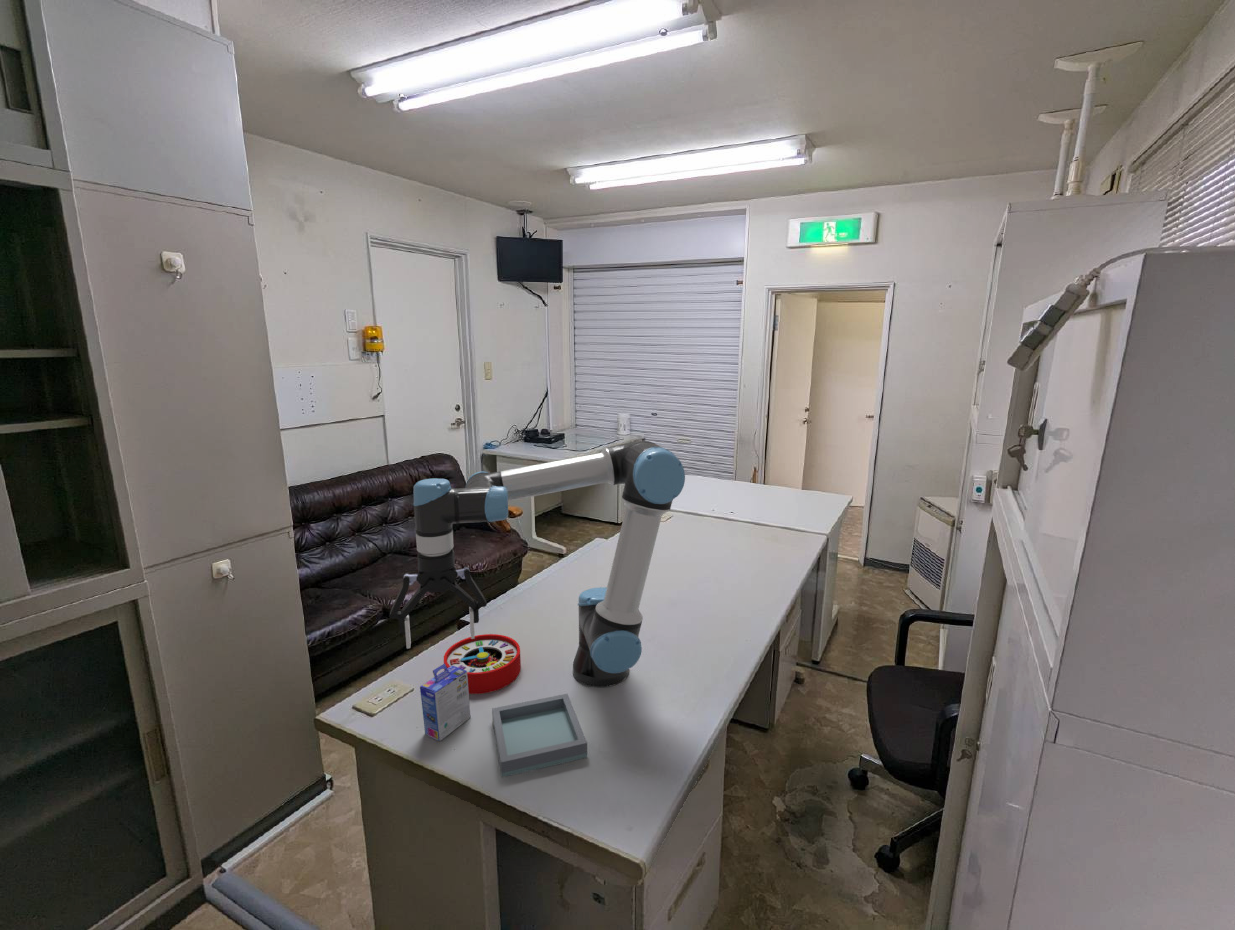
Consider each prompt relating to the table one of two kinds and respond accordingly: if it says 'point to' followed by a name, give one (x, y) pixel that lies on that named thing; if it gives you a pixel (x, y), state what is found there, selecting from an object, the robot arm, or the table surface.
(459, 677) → the ink cartridge box
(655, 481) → the robot arm
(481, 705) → the table surface
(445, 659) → the toy clock
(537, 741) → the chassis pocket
